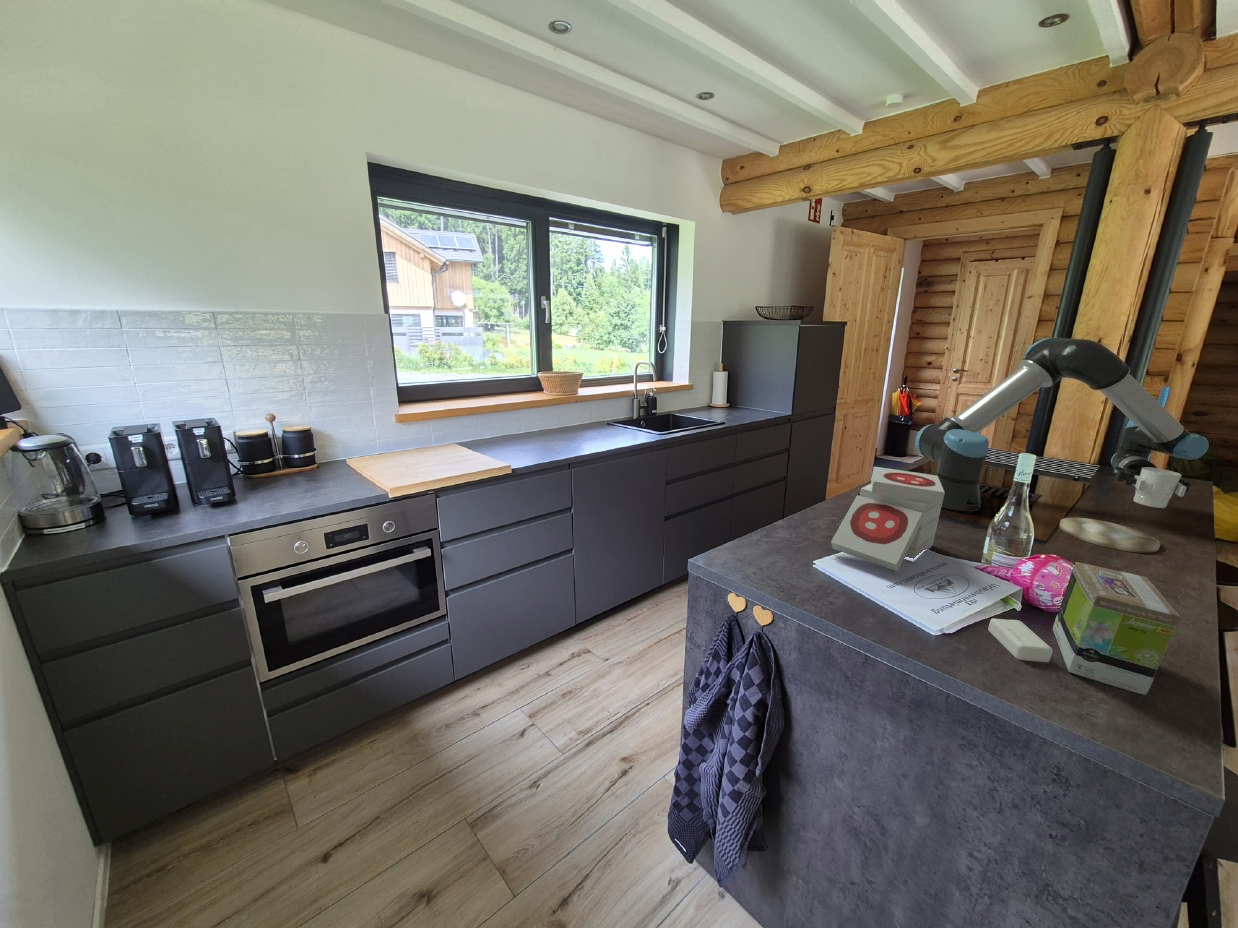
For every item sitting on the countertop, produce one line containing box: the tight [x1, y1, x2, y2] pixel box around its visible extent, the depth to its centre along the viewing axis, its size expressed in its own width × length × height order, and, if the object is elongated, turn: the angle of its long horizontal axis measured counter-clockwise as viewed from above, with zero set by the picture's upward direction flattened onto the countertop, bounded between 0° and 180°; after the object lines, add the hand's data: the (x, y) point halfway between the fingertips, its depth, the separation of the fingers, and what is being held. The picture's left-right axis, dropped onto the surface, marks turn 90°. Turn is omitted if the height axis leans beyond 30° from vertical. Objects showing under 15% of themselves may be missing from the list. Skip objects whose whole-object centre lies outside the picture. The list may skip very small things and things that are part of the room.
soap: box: [987, 618, 1054, 663], centre depth 89 cm, size 9×6×3 cm, turn 174°
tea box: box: [1052, 561, 1181, 696], centre depth 84 cm, size 15×10×15 cm, turn 148°
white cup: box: [1133, 467, 1183, 509], centre depth 143 cm, size 8×8×10 cm
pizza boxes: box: [830, 466, 945, 572], centre depth 123 cm, size 19×30×18 cm, turn 133°
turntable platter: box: [1058, 516, 1161, 554], centre depth 137 cm, size 20×20×2 cm
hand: (1162, 488), depth 139 cm, fingers closed on white cup, 8 cm apart
